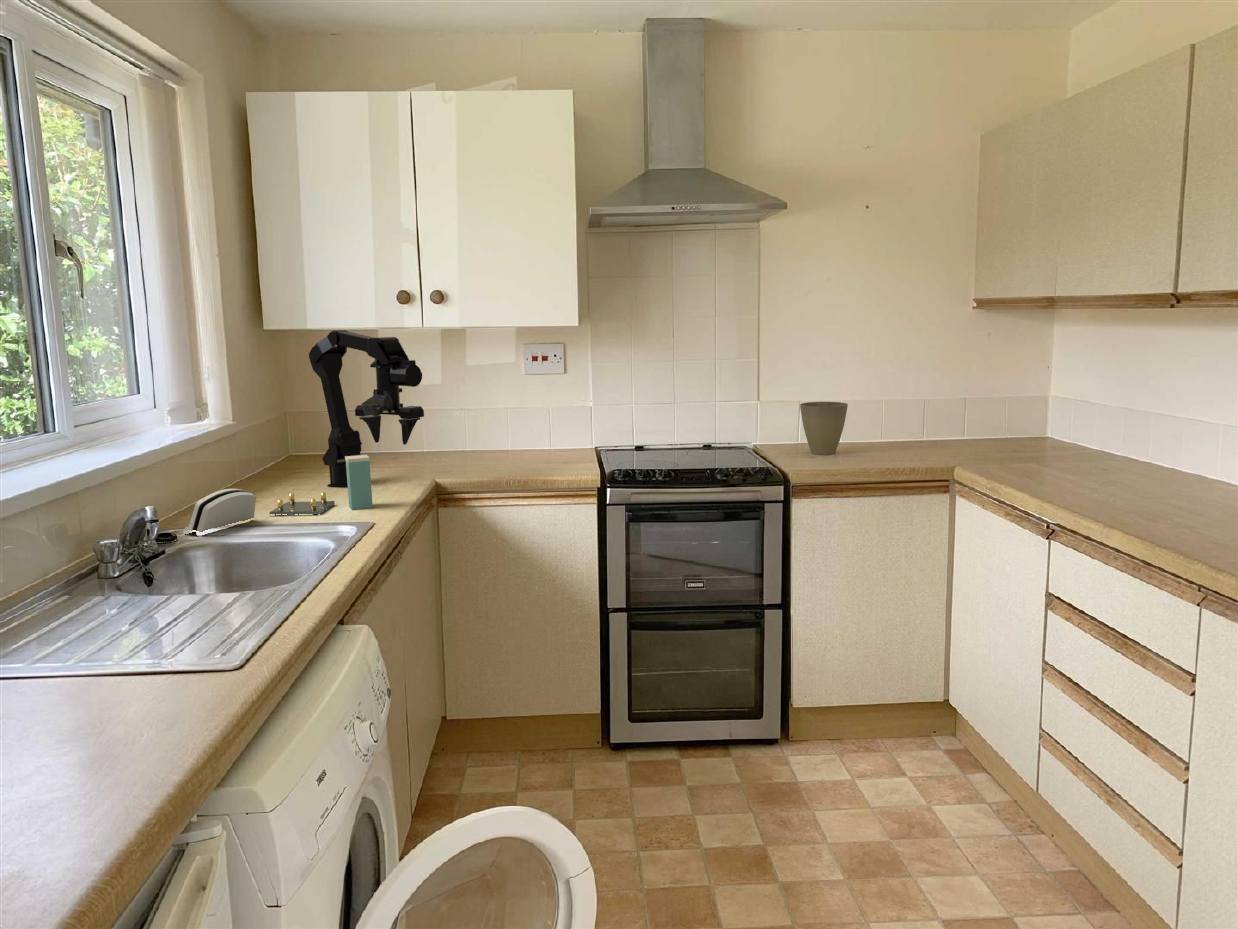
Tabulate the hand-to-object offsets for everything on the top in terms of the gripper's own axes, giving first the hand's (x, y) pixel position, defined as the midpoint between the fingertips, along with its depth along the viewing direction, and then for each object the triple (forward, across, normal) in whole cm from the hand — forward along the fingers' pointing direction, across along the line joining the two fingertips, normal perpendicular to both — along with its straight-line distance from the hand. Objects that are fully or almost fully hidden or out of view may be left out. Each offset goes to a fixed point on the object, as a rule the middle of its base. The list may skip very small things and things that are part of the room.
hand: (390, 443), depth 246 cm
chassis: (+13, -7, -27) cm, 31 cm away
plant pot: (+12, +95, +97) cm, 136 cm away
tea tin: (+13, +5, -19) cm, 23 cm away
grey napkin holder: (+14, -11, -47) cm, 50 cm away
